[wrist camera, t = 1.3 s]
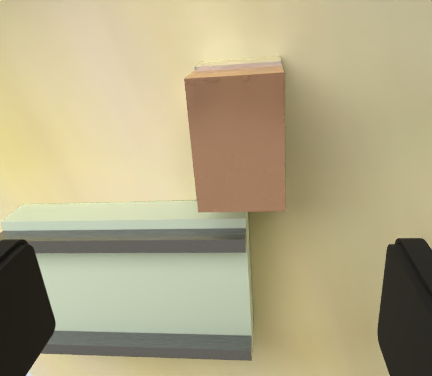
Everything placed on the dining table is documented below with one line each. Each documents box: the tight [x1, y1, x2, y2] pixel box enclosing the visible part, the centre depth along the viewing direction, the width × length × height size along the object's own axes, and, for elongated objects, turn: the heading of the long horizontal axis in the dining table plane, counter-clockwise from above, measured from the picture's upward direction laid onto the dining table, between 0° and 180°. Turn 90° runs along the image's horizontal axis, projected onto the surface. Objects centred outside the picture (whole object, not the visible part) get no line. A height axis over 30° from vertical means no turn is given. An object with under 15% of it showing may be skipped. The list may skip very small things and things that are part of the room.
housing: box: [184, 56, 285, 213], centre depth 24 cm, size 5×8×6 cm, turn 4°
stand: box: [0, 201, 253, 361], centre depth 31 cm, size 18×12×4 cm, turn 94°
